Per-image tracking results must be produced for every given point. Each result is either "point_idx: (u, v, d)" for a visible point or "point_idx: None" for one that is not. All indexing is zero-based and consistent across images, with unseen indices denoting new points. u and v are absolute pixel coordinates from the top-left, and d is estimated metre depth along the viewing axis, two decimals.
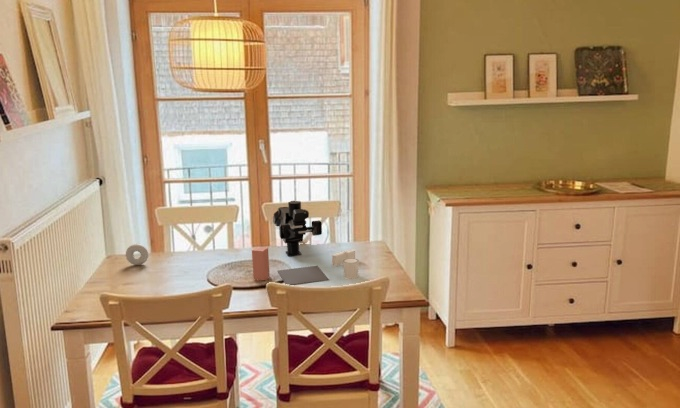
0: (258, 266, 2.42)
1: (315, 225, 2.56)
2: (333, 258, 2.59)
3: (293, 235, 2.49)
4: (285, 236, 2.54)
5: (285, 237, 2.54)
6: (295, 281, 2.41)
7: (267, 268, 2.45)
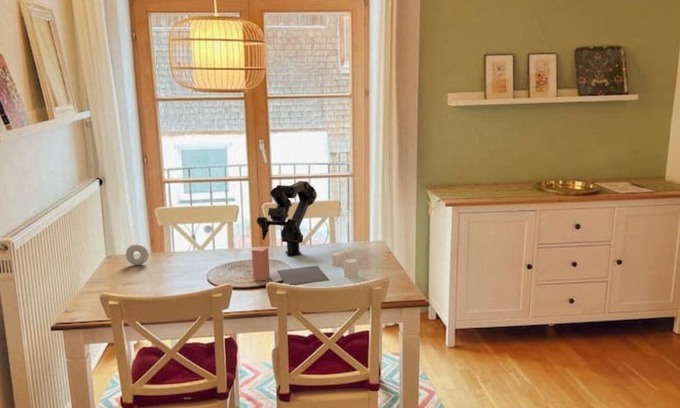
0: (258, 266, 2.42)
1: (287, 227, 2.53)
2: (333, 258, 2.59)
3: None
4: None
5: None
6: (295, 281, 2.41)
7: (267, 268, 2.45)
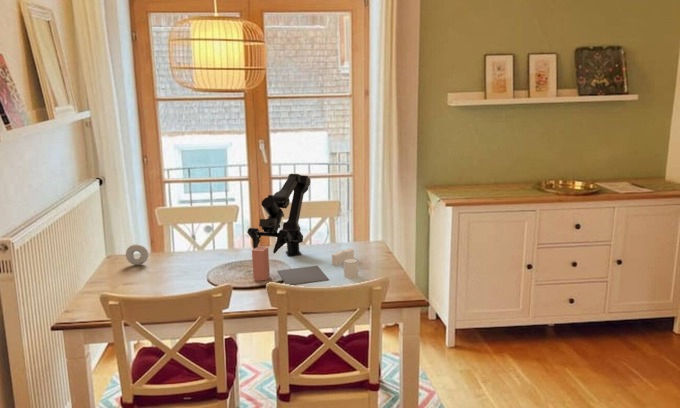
0: (258, 266, 2.42)
1: (279, 239, 2.46)
2: (333, 258, 2.59)
3: None
4: None
5: None
6: (295, 281, 2.41)
7: (267, 268, 2.45)
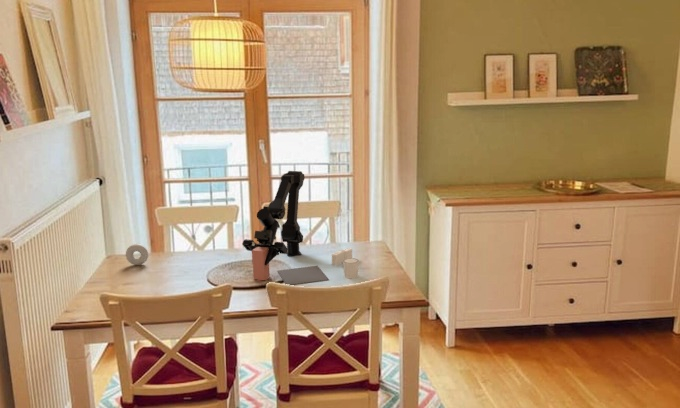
0: (258, 266, 2.42)
1: (270, 251, 2.43)
2: (333, 257, 2.59)
3: None
4: None
5: None
6: (295, 281, 2.41)
7: (268, 268, 2.45)
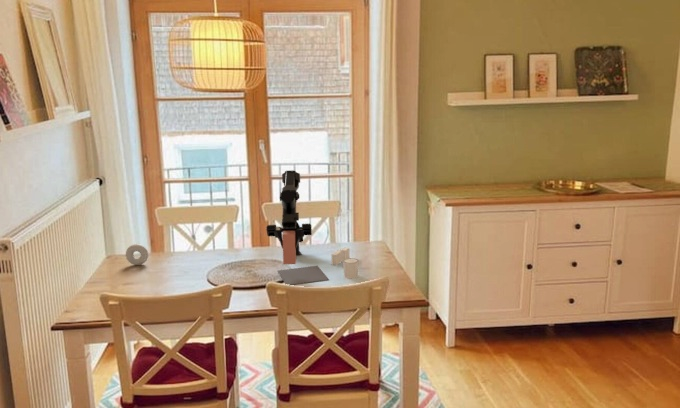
0: (289, 250, 2.41)
1: (298, 233, 2.44)
2: (333, 257, 2.60)
3: None
4: (276, 236, 2.47)
5: (276, 237, 2.47)
6: (295, 281, 2.41)
7: (295, 251, 2.45)
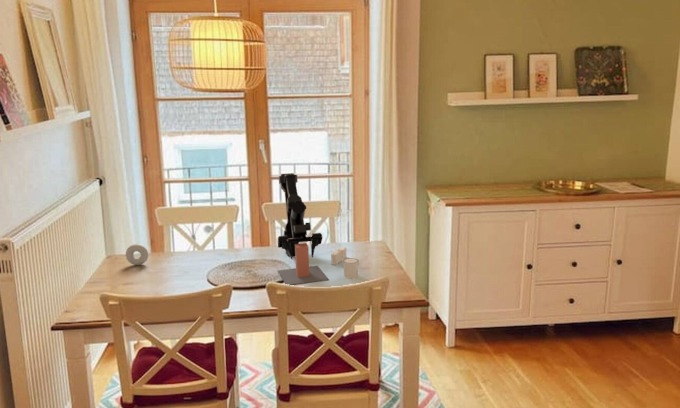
0: (303, 262, 2.44)
1: (314, 242, 2.47)
2: (333, 257, 2.60)
3: (290, 257, 2.44)
4: (283, 247, 2.48)
5: (283, 248, 2.49)
6: (295, 281, 2.41)
7: None
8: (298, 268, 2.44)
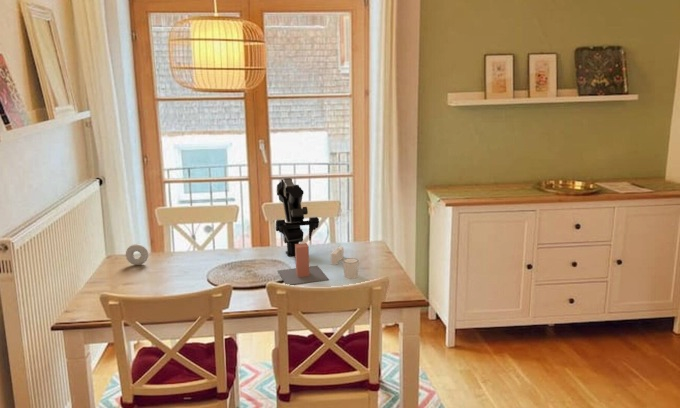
0: (303, 262, 2.44)
1: (312, 226, 2.54)
2: (332, 257, 2.60)
3: (287, 240, 2.51)
4: (280, 231, 2.55)
5: (280, 231, 2.55)
6: (295, 281, 2.41)
7: None
8: (298, 268, 2.44)
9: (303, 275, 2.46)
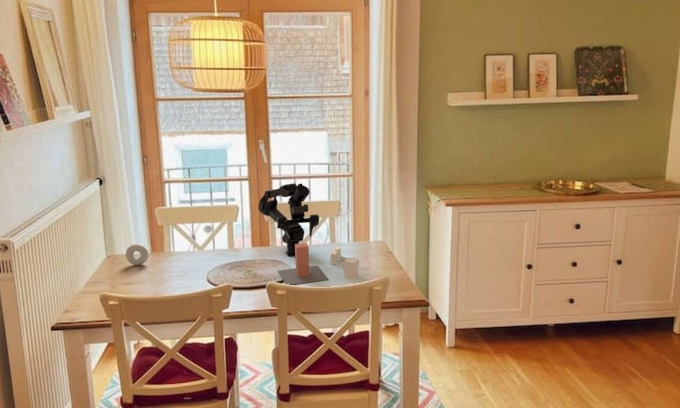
0: (303, 262, 2.44)
1: (312, 223, 2.61)
2: (332, 257, 2.60)
3: (288, 237, 2.58)
4: (282, 228, 2.62)
5: (282, 229, 2.62)
6: (295, 281, 2.41)
7: None
8: (298, 268, 2.44)
9: (303, 275, 2.46)
